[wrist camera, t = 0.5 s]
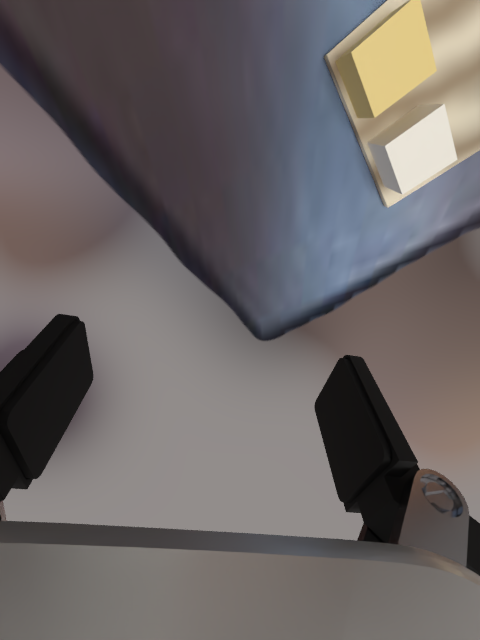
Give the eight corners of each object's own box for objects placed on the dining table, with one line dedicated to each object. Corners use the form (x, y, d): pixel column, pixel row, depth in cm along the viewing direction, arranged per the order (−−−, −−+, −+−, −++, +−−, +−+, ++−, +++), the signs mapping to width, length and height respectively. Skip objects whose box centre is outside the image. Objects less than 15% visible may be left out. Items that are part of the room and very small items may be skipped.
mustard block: (335, 61, 29) (351, 52, 25) (391, 12, 27) (418, -7, 23) (357, 118, 32) (374, 118, 28) (410, 77, 30) (436, 70, 26)
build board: (323, 56, 30) (341, 44, 25) (543, -140, 23) (629, -212, 18) (384, 205, 39) (405, 218, 34) (553, 97, 32) (612, 93, 27)
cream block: (366, 142, 33) (384, 146, 29) (417, 105, 31) (444, 103, 27) (383, 186, 36) (402, 194, 32) (431, 154, 34) (457, 159, 30)
